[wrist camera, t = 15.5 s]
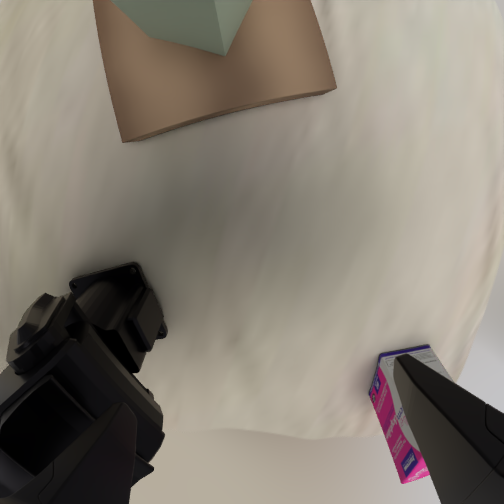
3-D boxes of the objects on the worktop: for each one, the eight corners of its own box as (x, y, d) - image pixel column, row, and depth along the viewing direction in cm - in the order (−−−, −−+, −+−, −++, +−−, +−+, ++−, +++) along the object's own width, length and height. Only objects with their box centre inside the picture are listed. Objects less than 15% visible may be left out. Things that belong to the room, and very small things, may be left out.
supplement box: (376, 353, 25) (427, 453, 14) (429, 342, 25) (488, 427, 14) (365, 395, 27) (401, 487, 16) (414, 384, 27) (458, 465, 17)
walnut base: (139, 140, 18) (122, 142, 15) (107, -6, 13) (90, -21, 11) (323, 94, 17) (337, 88, 14) (275, -51, 13) (280, -72, 10)
